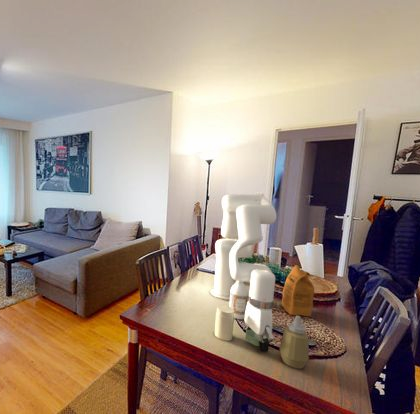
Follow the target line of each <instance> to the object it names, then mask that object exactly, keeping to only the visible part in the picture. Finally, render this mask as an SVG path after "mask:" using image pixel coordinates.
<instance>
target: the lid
mask: <svg viewBox="0 0 420 414" xmlns="http://www.w3.org/2000/svg"><path fill="white" fill-rule="evenodd" d="M263 334H265V332H264V333H263ZM244 337H245V340H246V341H247V342H248V343H250V344H251V345H254V346H256V347H259V341H261V339H260V335H258V334H256V333H255V332H254V331H253V330H247V331H245V336H244ZM263 338H264V339H265V338H266V335H263Z"/></svg>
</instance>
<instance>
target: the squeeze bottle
mask: <svg viewBox="0 0 420 414" xmlns="http://www.w3.org/2000/svg"><path fill="white" fill-rule="evenodd" d="M306 331H307V328H306V327H305V326H304V325H302V318H301V315H295V317H294V319H293V322H288V325H287V327H285V328H284V329H283V334H282V338H281V340H280V341H281V342H280V345H279V353H280V356H281V359H282V362H283V363H284V364H286V365H287V366H289V367H291V368H294V369H303V368H304V367H305V365H306V364H307V363H308V361H309V359H310V351H309V350H310V346H309V345H310V344H309V343H310V342H309V341H310V340H309V335H308V334H307V332H306Z"/></svg>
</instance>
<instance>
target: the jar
mask: <svg viewBox="0 0 420 414" xmlns="http://www.w3.org/2000/svg"><path fill="white" fill-rule="evenodd" d="M214 322H215V323H214V324H215V325H214V336H215V337H216V338H218V339H219V340H221V341H231V340H233V336H234V335H233V334H234V322H235V318H234V310H233V309H232V308H230V307H229V306H227V305H222V304H221V305H217V306H216V311H215V321H214Z"/></svg>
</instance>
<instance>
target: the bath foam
mask: <svg viewBox="0 0 420 414" xmlns="http://www.w3.org/2000/svg"><path fill="white" fill-rule="evenodd" d="M248 301H249V290H248V288H247V286H246V285H245V282H242V281H236V280H235V284H234V285H233V286H232V288H231V291H230V300H229V303H228V305H229V306H228V307H230V308H232V309H233V310H234V319H236V320H244V318H245V316H244V315H245V311H246V306H247V303H248Z"/></svg>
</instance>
